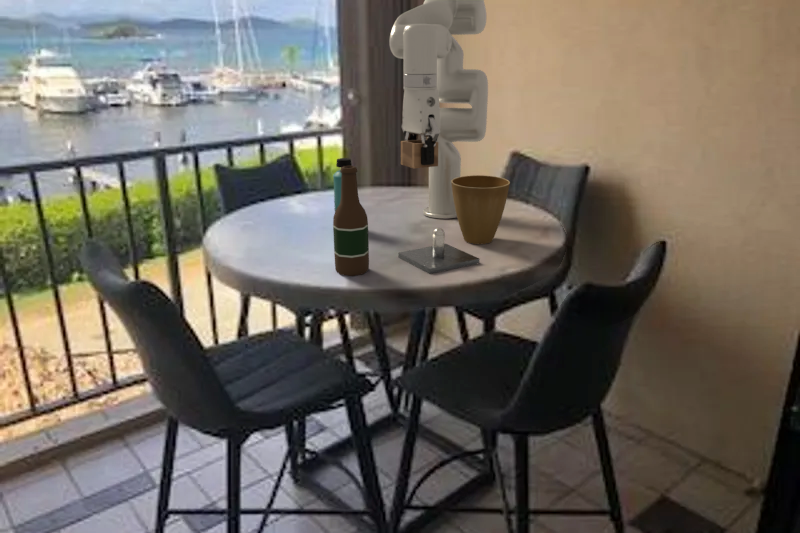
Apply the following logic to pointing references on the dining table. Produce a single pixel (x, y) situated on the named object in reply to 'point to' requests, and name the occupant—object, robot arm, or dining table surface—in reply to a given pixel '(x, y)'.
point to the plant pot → (479, 205)
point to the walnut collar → (415, 154)
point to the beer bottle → (350, 228)
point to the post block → (438, 255)
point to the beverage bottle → (339, 180)
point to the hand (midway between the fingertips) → (419, 161)
